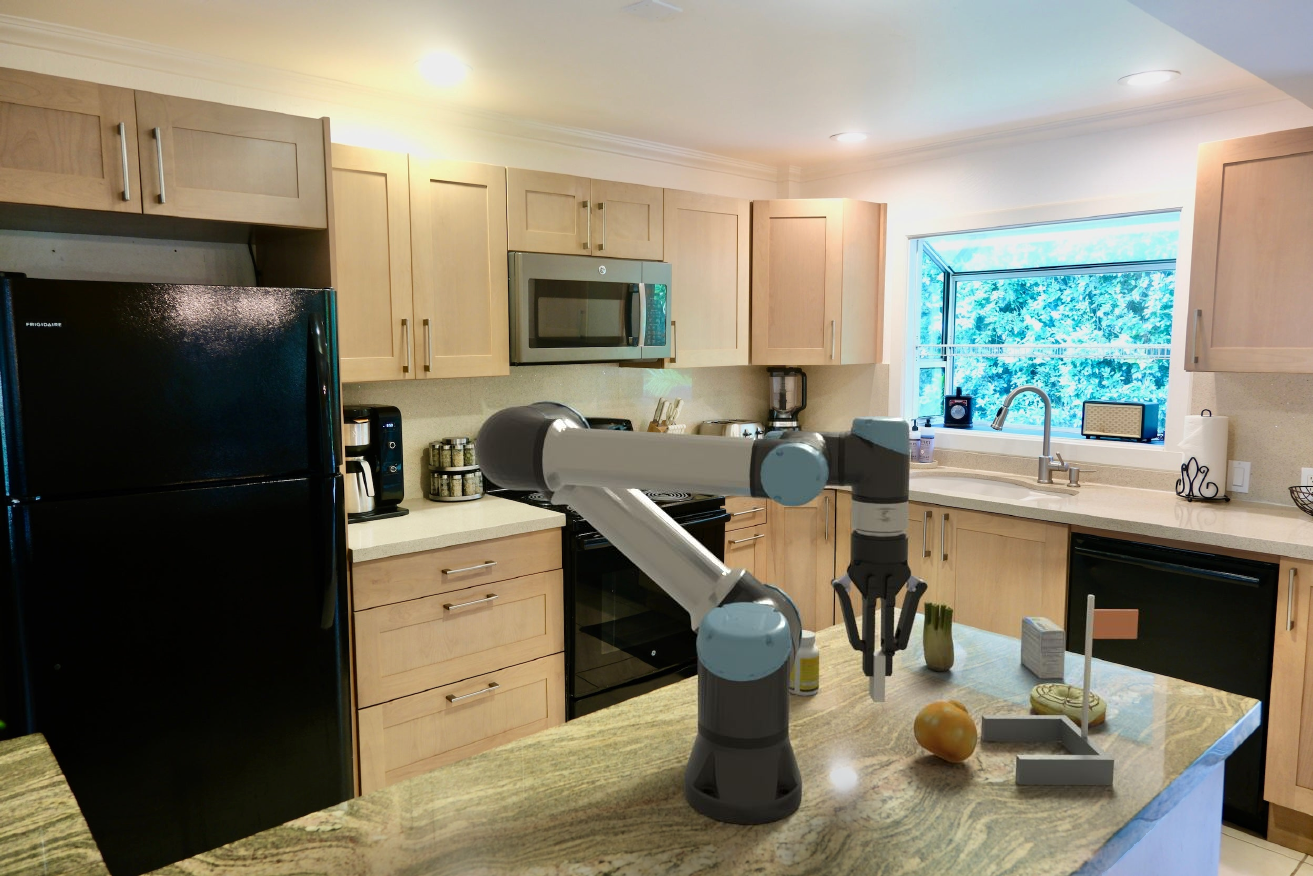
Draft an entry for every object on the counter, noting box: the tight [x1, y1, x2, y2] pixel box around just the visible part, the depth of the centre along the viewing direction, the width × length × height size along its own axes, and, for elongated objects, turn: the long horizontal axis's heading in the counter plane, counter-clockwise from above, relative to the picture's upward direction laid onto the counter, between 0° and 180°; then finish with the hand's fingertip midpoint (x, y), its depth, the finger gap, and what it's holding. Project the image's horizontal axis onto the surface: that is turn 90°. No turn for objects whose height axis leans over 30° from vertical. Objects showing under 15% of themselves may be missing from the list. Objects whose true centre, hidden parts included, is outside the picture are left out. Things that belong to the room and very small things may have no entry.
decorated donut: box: [1029, 682, 1108, 727], centre depth 130 cm, size 10×11×4 cm
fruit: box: [913, 699, 978, 764], centre depth 115 cm, size 8×8×8 cm
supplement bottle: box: [789, 629, 820, 697], centre depth 139 cm, size 5×5×10 cm
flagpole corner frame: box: [980, 594, 1139, 786], centre depth 114 cm, size 18×13×24 cm
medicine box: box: [1020, 616, 1066, 680], centre depth 148 cm, size 8×4×9 cm, turn 179°
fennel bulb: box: [922, 600, 955, 672], centre depth 149 cm, size 6×5×12 cm
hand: (876, 697), depth 115 cm, fingers closed
